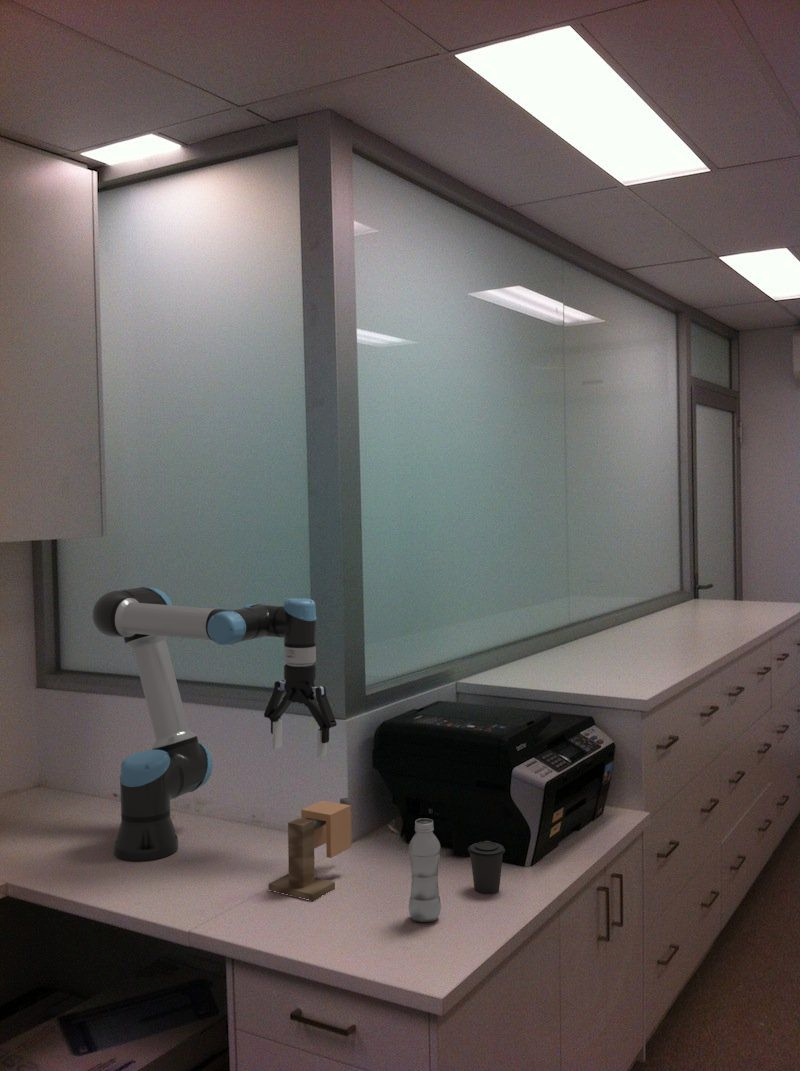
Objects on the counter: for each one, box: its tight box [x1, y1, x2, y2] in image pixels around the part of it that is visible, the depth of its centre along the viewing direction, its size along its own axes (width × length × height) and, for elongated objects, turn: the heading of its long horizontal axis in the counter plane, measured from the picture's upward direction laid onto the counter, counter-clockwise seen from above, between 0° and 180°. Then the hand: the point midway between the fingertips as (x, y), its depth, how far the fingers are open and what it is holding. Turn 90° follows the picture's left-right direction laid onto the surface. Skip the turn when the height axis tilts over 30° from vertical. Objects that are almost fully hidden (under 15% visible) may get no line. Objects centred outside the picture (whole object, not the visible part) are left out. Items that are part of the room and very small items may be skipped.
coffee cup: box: [468, 840, 506, 896], centre depth 216 cm, size 8×8×10 cm
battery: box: [452, 833, 471, 857], centre depth 240 cm, size 4×7×10 cm, turn 155°
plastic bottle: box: [408, 817, 442, 923], centre depth 201 cm, size 6×7×20 cm
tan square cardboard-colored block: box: [300, 800, 352, 859], centre depth 225 cm, size 8×8×10 cm
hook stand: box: [268, 797, 351, 902], centre depth 223 cm, size 12×22×16 cm, turn 149°
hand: (299, 752), depth 238 cm, fingers open, 13 cm apart
